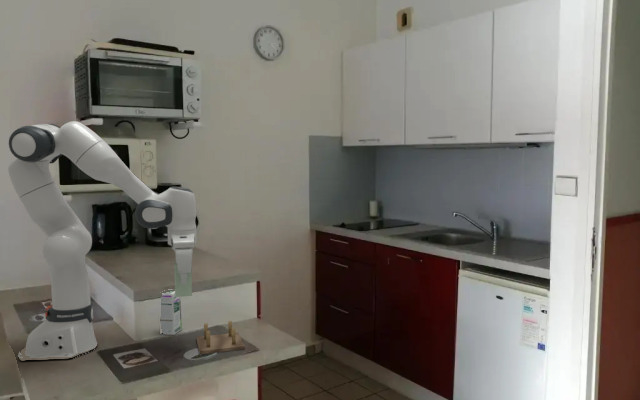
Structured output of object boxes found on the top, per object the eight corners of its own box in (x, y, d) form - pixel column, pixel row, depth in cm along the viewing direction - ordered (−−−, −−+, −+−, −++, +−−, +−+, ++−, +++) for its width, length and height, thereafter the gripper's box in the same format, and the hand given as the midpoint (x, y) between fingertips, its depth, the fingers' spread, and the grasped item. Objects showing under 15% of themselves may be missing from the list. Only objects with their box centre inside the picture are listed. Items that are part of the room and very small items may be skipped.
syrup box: (174, 335, 183) (173, 293, 182) (158, 334, 184) (157, 292, 183) (182, 330, 188) (180, 289, 187) (166, 329, 189) (165, 289, 188)
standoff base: (199, 354, 165) (199, 335, 164) (196, 339, 178) (195, 322, 178) (244, 349, 169) (244, 330, 168) (238, 335, 182) (237, 318, 182)
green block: (175, 296, 166) (175, 265, 165) (174, 293, 170) (174, 262, 170) (192, 295, 167) (191, 264, 166) (190, 292, 172) (190, 261, 171)
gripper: (170, 234, 176) (171, 275, 177) (173, 243, 157) (173, 289, 158) (190, 233, 178) (191, 274, 179) (194, 242, 159) (195, 288, 160)
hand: (183, 281), depth 168 cm, fingers closed on green block, 5 cm apart
